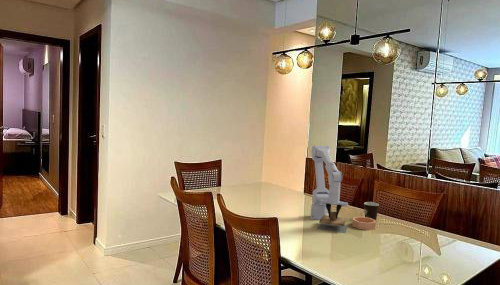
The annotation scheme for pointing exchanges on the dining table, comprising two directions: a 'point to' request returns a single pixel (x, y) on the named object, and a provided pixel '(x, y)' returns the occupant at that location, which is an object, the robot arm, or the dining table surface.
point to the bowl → (364, 223)
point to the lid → (333, 219)
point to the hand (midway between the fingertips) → (333, 217)
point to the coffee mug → (371, 210)
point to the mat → (333, 228)
